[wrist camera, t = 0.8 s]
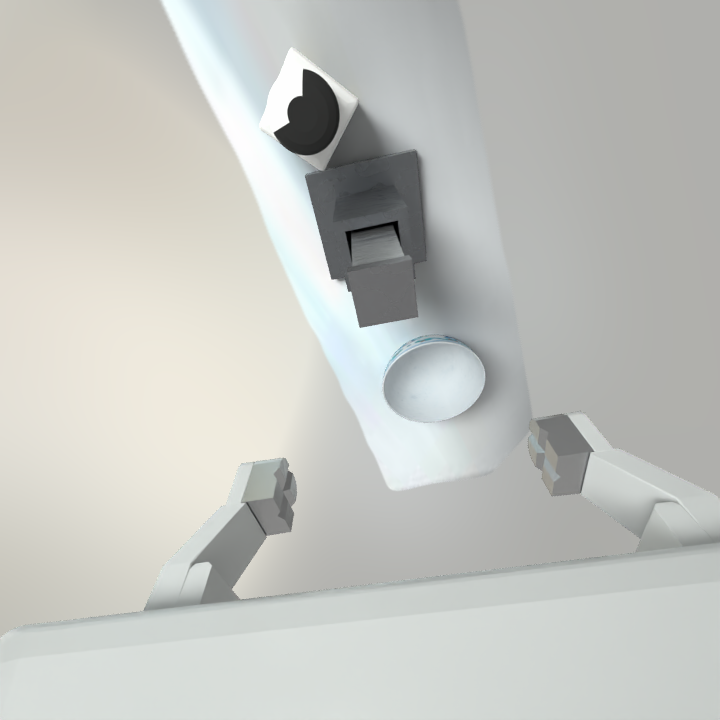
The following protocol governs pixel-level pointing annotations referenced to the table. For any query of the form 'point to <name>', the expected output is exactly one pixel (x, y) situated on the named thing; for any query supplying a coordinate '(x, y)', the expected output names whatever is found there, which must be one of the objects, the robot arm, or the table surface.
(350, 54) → the table surface
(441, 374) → the chinaware
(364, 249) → the column
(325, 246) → the stand base
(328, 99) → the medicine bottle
